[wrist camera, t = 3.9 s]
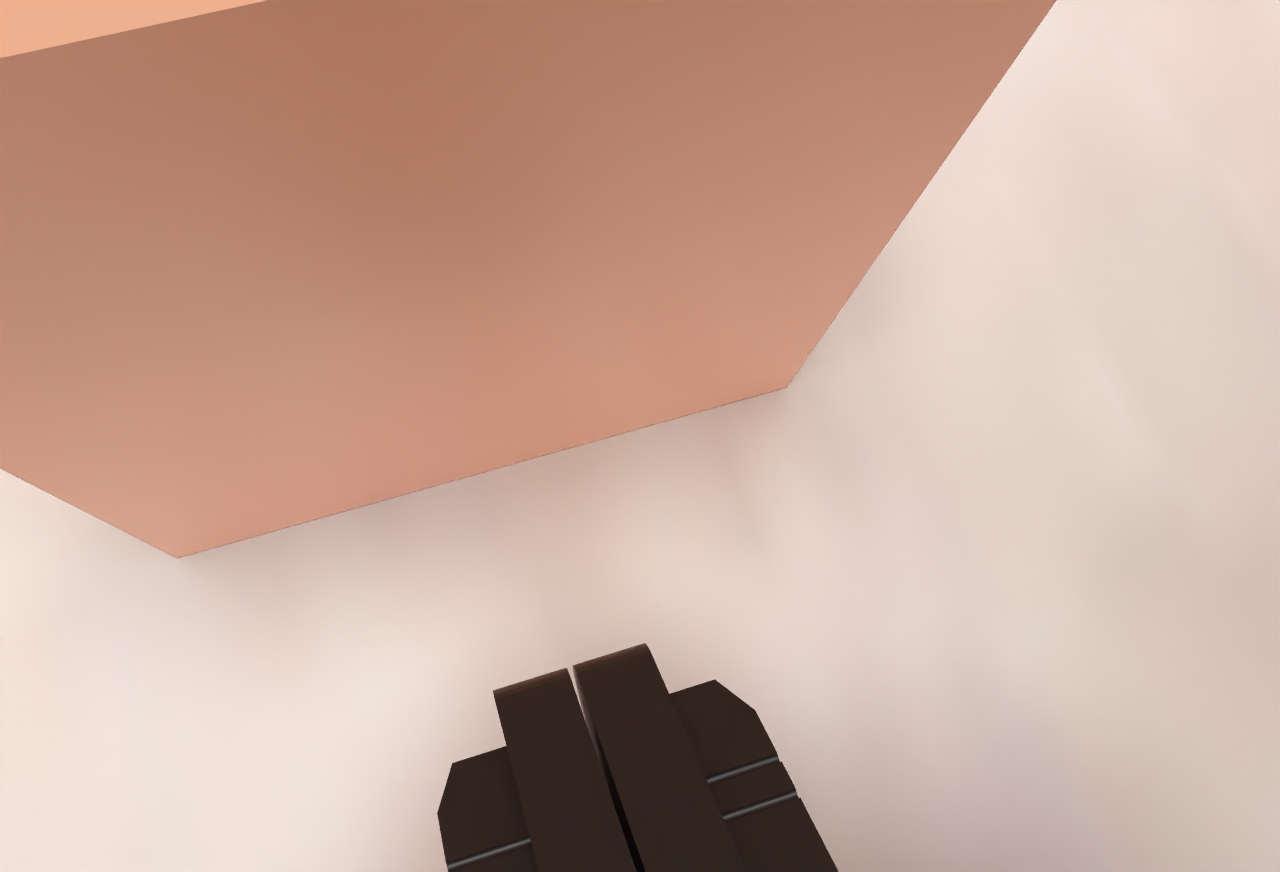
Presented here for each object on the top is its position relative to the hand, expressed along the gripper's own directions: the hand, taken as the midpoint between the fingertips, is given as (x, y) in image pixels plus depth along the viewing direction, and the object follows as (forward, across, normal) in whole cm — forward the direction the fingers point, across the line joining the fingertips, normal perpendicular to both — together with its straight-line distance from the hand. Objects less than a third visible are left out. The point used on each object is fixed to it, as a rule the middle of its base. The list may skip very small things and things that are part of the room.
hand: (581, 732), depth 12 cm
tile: (+9, 0, +1) cm, 9 cm away
